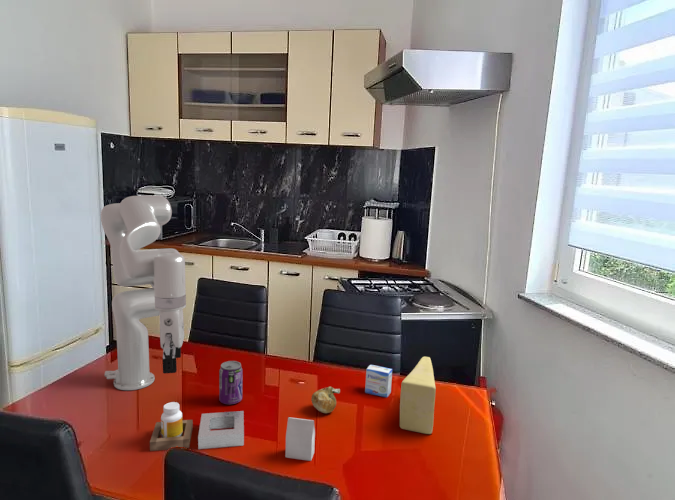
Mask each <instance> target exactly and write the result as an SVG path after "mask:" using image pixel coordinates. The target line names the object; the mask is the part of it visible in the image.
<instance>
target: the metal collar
mask: <svg viewBox="0 0 675 500" xmlns="http://www.w3.org/2000/svg"><path fill="white" fill-rule="evenodd" d="M244 413H245V412H244V410H240V411H239V410H238V411H224V412H223V411H222V412H209V413H208V412H207V413H201V417H200V423H199V430H198V435H197V442H198V443H197V445H198V447H197V449H198V450H207V449H218V448H231V447H240V446H241V447H242V446H244V445H245V425H244V423H245V420H244V418H245V417H244V416H245V415H244Z"/></svg>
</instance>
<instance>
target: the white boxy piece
mask: <svg viewBox="0 0 675 500" xmlns="http://www.w3.org/2000/svg"><path fill="white" fill-rule="evenodd" d="M315 438H316V428H315V420H313V419H306V418H297V417H289V416H288V417H287V424H286V432H285V455H284V456H285V458H287V459H295V460H302V461H310V462H312V459H313V457H314V454H315V441H316V439H315Z"/></svg>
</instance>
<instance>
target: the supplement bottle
mask: <svg viewBox="0 0 675 500" xmlns="http://www.w3.org/2000/svg"><path fill="white" fill-rule="evenodd" d="M160 416H161V417H160V422H161V438H168V437H181V436H184V431H183V422H182V420H183V412H182V411H181V409H180V404H179V402H177V401H176V402H175V401H171V402H168V403H166V404H164V405H163V412H162V414H161V415H160Z"/></svg>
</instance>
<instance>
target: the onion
mask: <svg viewBox="0 0 675 500" xmlns="http://www.w3.org/2000/svg"><path fill="white" fill-rule="evenodd" d="M340 393H341V389H340V388H334V387H332V386H328V387H326V386H325V387H324V388H321V389H318V390H316V391H315V392H313V393H312V395H311V404H312V406H313V407H314V408H315V409H316V410H317V411H318V412H320V413H323V414H329V413H332V412H334V410H335V408H336V406H337V398H336V396H335V394H340Z"/></svg>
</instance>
